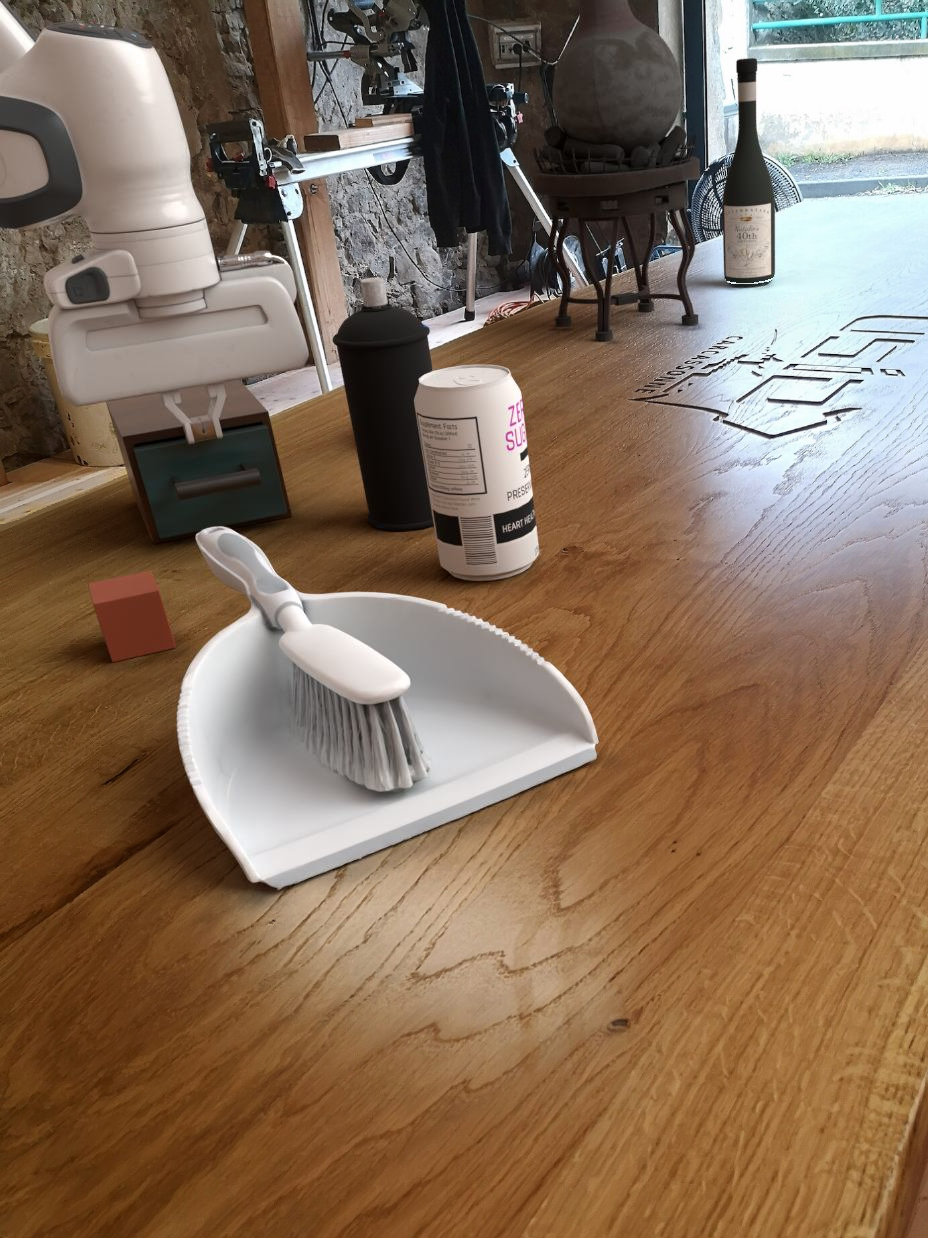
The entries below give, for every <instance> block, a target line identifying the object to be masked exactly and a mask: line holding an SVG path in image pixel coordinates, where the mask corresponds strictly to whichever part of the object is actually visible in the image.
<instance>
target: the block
mask: <svg viewBox="0 0 928 1238" xmlns="http://www.w3.org/2000/svg"><path fill="white" fill-rule="evenodd" d="M87 588H88V591H89V595H90V598H91V599H90V600H91V602H92V605H93V609H94V612H95V614H96V619H97V621H98V623H99V626H100V630H101V632H102V636H103V639H104V642H105V645H106V647H107V651H108V653H109V658H110V661H111V662H112V663H115V662H120V661H125V660H128V659H132V658H137V657H143V656H146V655H150V654H155V653H160V652H164V651H168V650H172V649H176V648H177V645H176V642H175V638H174V635H173V632H172V628H171V626H170V625H171V624H170V621H169V618H168V615H167V612H166V608H165V606H164V601H163V598H162V595H161V592H160V589H159V586H158V584H157V581H156V578H155V577H154V574H153V572H152V570H148V571H142V572H141V571H140V572H138V573H137V572H136V573H132V574H128V575H127V574H126V575H122V576H117V577H113V578H108V579H103V580H98V581H94V582H89V583H87Z"/></svg>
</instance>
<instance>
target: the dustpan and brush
mask: <svg viewBox="0 0 928 1238" xmlns="http://www.w3.org/2000/svg"><path fill="white" fill-rule="evenodd" d="M195 541H196V544H197V546H198V548H199V549H198V550H199V552H200V553H201V555H202V557H203V559H204V561H205V563H206V565H207V566H208V568H209V570H210V571H211V572H212V574H213V575H214V576H215V578H217V580H219V581H220V582H221V583H222V584H223V585H225V586H226V587H228V588H230V589H232V590H235V591H237V592H239V593H241V594H242V595H243V596H245V597H246V598H248V599H249V602H250V609H249V610H248V611H247V613H246V614H244V615H243V616H241V617H240V618H238V619H237V620H236V621H234V622H232V623H230V624H229V625H227V626H226V627H224V628H223V629H221V630H219V631H218V632H217V633H216V634H214V636H213V637H211V638H210V639H209V640H208V641H207V642H206V643H205V644H204V645H203V646H202V648H201V649H200V650H199V651H198V652H197V654H196V655H195V656H194V658H193V659H192V661H191V662H190V664H189V666H188V668H187V670H186V672H185V674H184V676H183V679H182V681H181V685H180V694H179V699H178V701H177V703H178V705H177V706H176V707H177V709H176V710H177V712H176V734H177V741H178V743H177V744H178V747H179V752H180V758H181V761H182V765H183V767H184V771H185V773H186V776H187V780H188V781H189V785H190V786H191V788H192V791H193V794H194V796H195V798H196V800H197V802H198V804H199V806H200V808H201V809H202V811H203V813H204V815H205V816H206V819H207V820H208V822H209V823H210V825H211V826H212V828H213V831H215V832H216V834H217V835H218V837H219V838H220V839H221V840H222V842H223V843H224V844H225V846H226V847H227V848H228V849H229V851H230V853H231V854H232V855H233V857H234V858H235V860H236V862H237V863H238V864H239V866H240V868H241V870H242V872H243V873H244V875H245V877H246V878H247V880H248V881H249V882H251V883H252V884H256V883H259V882H261V883H264V884H265V885H267V886H269V887H271V888H275V889H277V891H280V890H281V889H283V888H285V887H287V886H293V884H294V885H295V884H298V883H301V882H303V881H306V880H307V879H310V878H312V877H315V876H317V875H321V874H323V873H326V872H328V871H331V870H333V869H337V868H339V867H341V866H343V865H345V864H346V865H347V864H349V863H351V862H353V861H355V860H361V859H362V858H363V857H366V856H368V855H370V854H373V853H376V852H378V851H381V850H383V849H386V848H388V847H390V846H394V845H396V844H399V843H401V842H403V841H406V840H410V839H411V838H413V837H416V836H418V835H422V833H425V832H428V831H431V830H433V829H436V828H438V827H440V826H442V825H445V824H447V823H451V822H453V821H456V820H458V819H460V818H464V817H465V816H468V815H470V814H472V813H474V812H477V811H480V810H482V809H484V808H486V807H488V806H491V805H493V804H497V803H499V802H500V801H503V800H506V799H508V798H511V797H512V796H515V795H518V794H519V793H521V792H524V791H527V790H528V789H531V788H532V787H534V786H538V785H539V784H542V783H545V782H547V781H550V780H552V779H554V778H555V777H559V776H561V775H562V774H565V773H567V772H570V771H571V770H574V769H577V768H579V767H581V766H584V765H585V764H587V763H590V762H592V761H595V760H596V759H597V751H596V745H598V744H599V743H600V742H599V738H598V734H597V729H596V726H595V724H594V719H593V718H592V715H591V712H590V711H589V708H588V706H587V704H586V703H585V700H584V699H583V698H582V696H581V695H580V693H579V692H578V690H577V689H576V688H575V687H574V685H573V684H572V683H571V682H570V681H569V680H568V679H567V678H566V676H564V675H563V674H562V672H561V671H560V670H558V668H557V667H555V665H553V664H552V663H551V662H550V661H546V660H545V657H543V656H540V654H539V652H536V651H534V650H533V648H532V647H529V646H528V644H526V643H522V640H521V639H516V636H515V635H510V634H509V632H508V631H503V629H502V628H501V627H500V628H497V627H496V625H495V624H490V623H489V621H484V620H483V619H482V618H477V617H476V616H475V615H470V614H469V613H468V612H462V610H455V608H454V607H449V608H448V607H447V605H446V604H444V603H441V602H438V601H433V600H430V599H425V598H421V597H417V596H410V595H403V594H397V593H391V592H389V593H388V592H378V591H377V592H376V591H343V592H330V593H329V592H328V593H304V592H300V591H298V590H297V589H295V588H294V587H293V586H292V585H291V584H290V582H288V581H287V580H286V579H284V578H282V577H281V576H280V575H278V573H277V572H276V571H275V570H274V567H273V565H272V564H271V562H270V560H269V558H268V556H267V555H266V554H265V553H264V551H263V550H262V549H261V548H260V546H258V545H257V544H256V543H255V542H253V541H252V540H250V539H249V538H247V537H246V536H245V535H242V534H240V533H238V532H236V530H234V529H233V528H232V529H229V528H226V527H222V526H219V527H210V528H206V529H203V530H202V531H201V532H199V533H197V534H196V536H195Z"/></svg>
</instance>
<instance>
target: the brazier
mask: <svg viewBox="0 0 928 1238" xmlns="http://www.w3.org/2000/svg"><path fill="white" fill-rule="evenodd" d="M577 1H578V23H577V28H576V29H577V30H576V31H575V34H574V35H573V37H572V38H571V39H570V41H569V42H568V43H567V45H566V46H565V48H564V49H563V51H562V52H561V54H560V56H559V58H558V61H557V64H556V66H555V70H554V75H553V78H552V79H553V80H552V81H553V82H552V91H551V94H552V106H553V107H552V108H553V110H554V114H555V116H556V121H557V122H558V124H559V125H560V126H559V125H555V124H553V125H550V127H548V128H547V129H546V130H544V131H543V137H544V140H545V142H546V144H542V148H541V147H538V153H539V155H538V153H537V149H536V146H533V148H532V152H533V156H534V157H533V158H534V160H535V163H536V165H537V166H538V169H535V170H532V171H531V182H532V191H533V193H535V194H538V195H542V196H547V200H548V209H549V213H550V215H551V217H552V218H551V219H552V220H551V228H550V232H549V237H548V242H547V257H548V260H549V262H550V265H552V267H553V269H554V270H555V271H556V273H557V275H558V276H559V278H560V281H561V287H562V288H561V289H562V290H561V298H560V303H559V308H558V315H557V316H555V317H554V322H555V323H554V325H555V327H569V326H571V325H572V324H573V321H572V316H571V315H568V306H569V304H575V305H576V304H578V305H597V315H596V316H597V318H596V319H597V320H596V325H597V328H596V329H597V330H596V331H594V335H595V336H594V337H595V341H596V342H608V341H613V339H614V335H613V334H614V333H613V329H611V323H610V322H611V306H617V307H619V306H625V305H631V304H637V311H638V312H641V313H645V312H647V313H649V312H653V311H654V310H655V306H654V305H655V302H654V301H652V300H661V299H662V300H674V301H675V300H676V301H680V302H682V305H683V308H684V313H685V314H683V315H681V325H682V326H696V325H698V324H699V314H697V313H695V311H694V306H693V303H692V300H691V297H690V295H689V292H688V288H687V280H686V279H687V278H686V276H687V273H688V270H689V267H690V266H691V263H692V260H693V259H694V255H695V252H696V240H695V235H694V232H693V229H692V226H691V224H690V222H689V218H688V215H687V210H686V204H687V183H686V181H689V180H691V181H692V180H693V181H694V180H701V164H700V163H701V162H700V161H701V160H700V158H699V157H696V156H694V155H693V152H694V149H695V145H696V137H697V134H693V135H692V137H688V135H687V132H686V130H685V129H684V128H683V127H682V126H680V125H678V124H677V125H675V126H674V124H675V122H676V119H677V117H678V114H679V111H680V108H681V104H682V97H683V84H682V83H683V82H682V81H683V80H682V76H681V71H680V68H679V65H678V62H677V60H676V57H675V55H674V53H673V52H672V50H671V48H670V47H669V45H668V44H667V42H666V41H665V40H664V39H663V37H662V36H661V35H660V34H658V33H657V31H655V30H654V29H652V28H651V27H648V26H647V25H646V24H644V23H642V22H641V21H640V20H638V19H637V18H636V17H635V16H634V14H633V12H632V10H631V8H630V6H629V3H628V0H577ZM673 126H674V127H673ZM672 127H673V128H672ZM678 153H679V154H678ZM685 153H686V154H685ZM692 155H693V156H692ZM545 162H546V163H549V165H550V166H549V167H547V165H546V163H545ZM543 167H544V168H543ZM657 199H661V202H659V203H657ZM609 202H612V203H613V204H615V202H617V203H616V204H617V207H616V208H604V207H603V204H604V203H606V204H609ZM665 211H668V216H669V220H670V223H671V226H672V228H673V231H674V233H675V235H676V236H677V238H678V241H679V244H680V246H681V252H682V256H681V261H680V263H679V268H678V270H677V276H676V285H677V289H678V290H677V291H678V293H679V294H677V293H651V288H650V282H649V264H650V261H651V259H652V254H653V252H654V248H655V244H656V240H657V234H658V233H657V232H658V230H657V229H658V217H657V213H660V212H665ZM677 212H678V213H679V216H680V219H681V223H682V226H683V227H684V230H685V233H686V235H685V233H684V231H683V229H682V227H681V225H680V222H679V219H678V216H677ZM648 214H649V221H650V228H649V229H650V230H649V241H648V244H647V248H646V252H645V255H644V257H643V261H642V265H641V266H640V260H639V255H638V252H637V251H638V250H637V247H636V241H635V238H634V235H633V232H632V228H631V226H630V223H629V220H628V217H633V216H640V215H641V216H642V215H648ZM560 218H562V222H561V226H560V228H559V223H560V221H559V220H560ZM571 219H577V223H578V224H577V225H578V233H579V247H580V255H581V260H582V265H583V268H584V271H585V272H586V274H587V276H588V279H589V280H590V282H591V283H592V285H593V287H594V290H595V291H596V298H575V297H571V291H572V277H571V274H570V270H569V267H568V265H567V262H566V259H565V256H564V252H563V251H564V250H563V249H564V243H565V242H564V241H565V237H566V234H567V231H568V229H569V225H570V221H571ZM588 222H612V234H611V241H610V245H609V251H608V255H607V256H608V257H607V263H606V273H605V284H604V290H603V287H602V284H601V282H600V280H599V278H598V277H597V275H596V273H595V271H594V269H593V267H592V264H591V261H590V257H589V256H590V255H589V249H588V240H587V239H588V237H587V224H586V223H588ZM620 222H621V223H622V226H623V228H624V231H625V234H626V238H627V241H628V247H629V250H630V256H631V259H632V265H633V268H634V274H635V280H636V286H637V292H632V291H629V292H623V293H616V294H612V282H613V272H614V263H615V257H616V250H617V245H618V240H619V233H620V224H621V223H620ZM558 228H559V232H558ZM557 232H558V235H557ZM556 237H557V240H556ZM686 237H687V238H686ZM555 241H556V244H555Z"/></svg>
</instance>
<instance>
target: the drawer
mask: <svg viewBox="0 0 928 1238" xmlns="http://www.w3.org/2000/svg"><path fill="white" fill-rule="evenodd" d="M221 431H222V434H223V438H221V439H216V440H210V441H204V442H199V443H194V444H189V443H188V442H187V439H186V436H185V435H184V436H179V437H173V438H167V439H162V440H156V441H150V442H145V443H139V444H135V447H134V448H133V449H134V453H135V456H136V460H137V463H138V467H139V470H140V473H141V477H142V480H143V484H144V487H145V490H146V494H147V497H148V501H149V504H150V508H151V511H152V514H153V518H154V521H155V525H156V528H157V531H158V535H159V537H160V538H161V539H162V538H167V537H172V536H177V535H182V534H187V533H191V532H196V531H201V530H203V529H206V528H210V527H219V526H226V525H231V524H236V523H241V522H246V521H251V520H256V519H261V518H266V517H271V516H276V515H281V514H286V513H287V509H286V505H285V501H284V496H283V492H282V488H281V483H280V479H279V475H278V470H277V466H276V462H275V457H274V453H273V448H272V444H271V440H270V435H269V431H268V428H267V426H266V425H259V426H255V424H254V423H253V424H247V425H241V426H236V427H230V428H224V429H221Z"/></svg>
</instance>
